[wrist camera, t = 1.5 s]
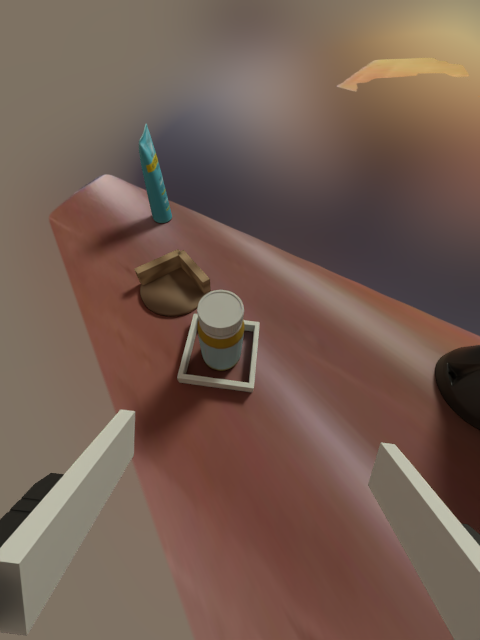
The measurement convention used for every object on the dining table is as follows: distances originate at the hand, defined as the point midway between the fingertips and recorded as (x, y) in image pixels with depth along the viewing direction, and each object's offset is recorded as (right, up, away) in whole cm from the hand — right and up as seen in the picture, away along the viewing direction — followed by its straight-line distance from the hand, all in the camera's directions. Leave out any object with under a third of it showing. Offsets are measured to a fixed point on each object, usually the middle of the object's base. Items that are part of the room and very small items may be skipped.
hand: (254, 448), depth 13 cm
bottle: (-4, 0, +32) cm, 32 cm away
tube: (-21, +34, +51) cm, 65 cm away
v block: (-15, +13, +39) cm, 43 cm away
